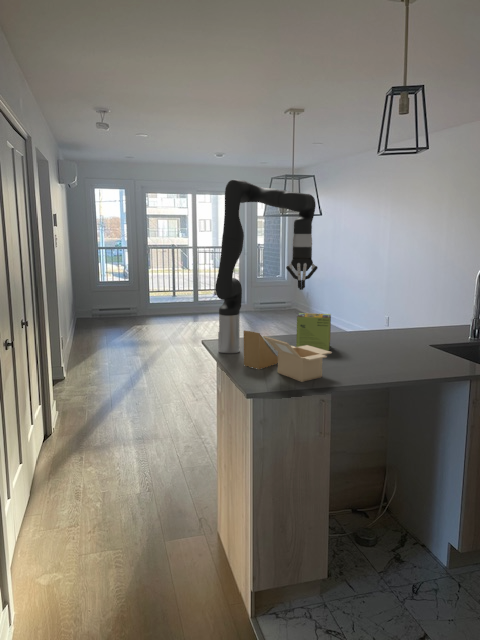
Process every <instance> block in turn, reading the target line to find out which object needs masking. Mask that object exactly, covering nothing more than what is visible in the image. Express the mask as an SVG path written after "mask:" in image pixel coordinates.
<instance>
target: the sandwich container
mask: <svg viewBox="0 0 480 640" xmlns="http://www.w3.org/2000/svg"><path fill="white" fill-rule="evenodd" d="M277 363H278V354H276V352H275V350H273V349H272V347H271V346H270V344H268V343H267V340H266V339H265V338H264V336H262V334H261V333H260V332H257V331H251V330H243V366H244V365H245V366H244V367H247V366H249V367H248V368H251V367H253V368H252V369H255V368H257V369H256V370H262V369H266V368H269V367H272V366H274V364H275V365H278V364H277ZM271 365H272V366H271ZM268 366H269V367H268ZM265 367H266V368H265ZM261 368H262V369H261Z"/></svg>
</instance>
